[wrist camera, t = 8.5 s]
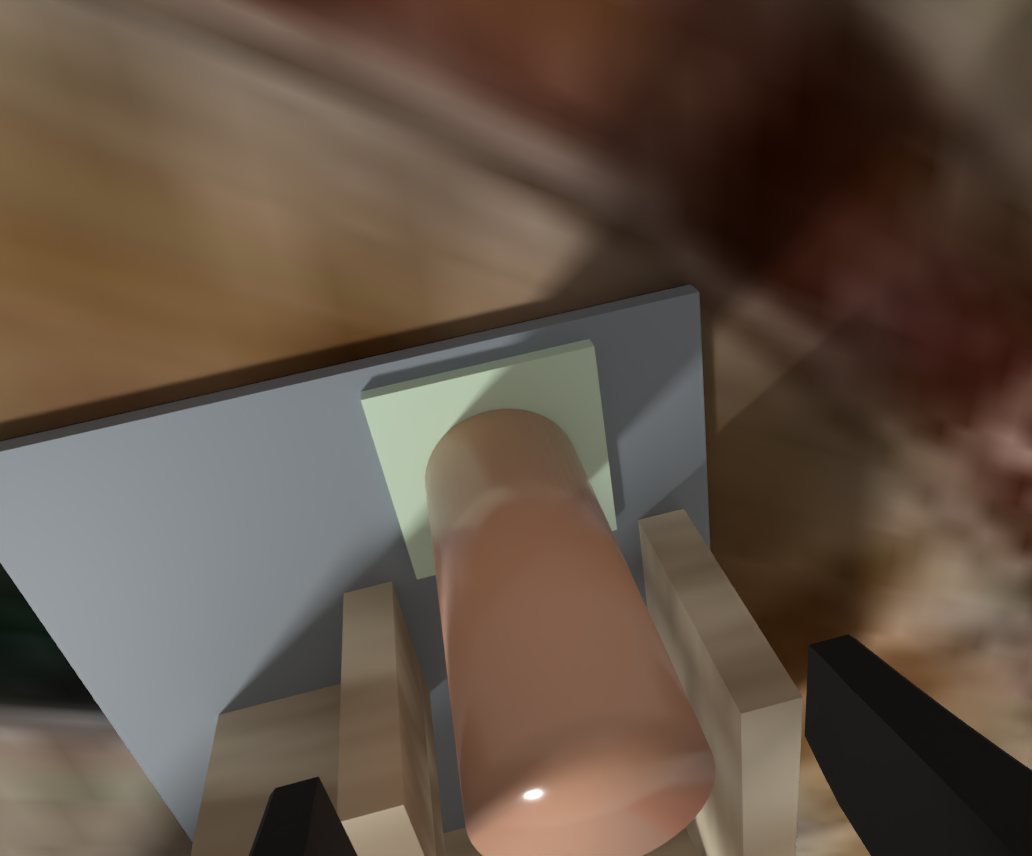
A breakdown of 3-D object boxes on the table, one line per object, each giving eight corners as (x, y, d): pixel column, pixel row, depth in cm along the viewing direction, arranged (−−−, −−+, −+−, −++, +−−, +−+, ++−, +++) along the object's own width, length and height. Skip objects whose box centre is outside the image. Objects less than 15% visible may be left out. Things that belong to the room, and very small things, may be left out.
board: (714, 779, 26) (720, 792, 25) (249, 907, 25) (247, 922, 24) (690, 284, 17) (699, 291, 16) (-54, 453, 16) (-66, 467, 15)
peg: (585, 518, 18) (717, 839, 11) (442, 552, 18) (490, 900, 11) (567, 392, 16) (712, 684, 9) (408, 428, 16) (439, 753, 9)
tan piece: (701, 785, 25) (789, 988, 20) (318, 890, 24) (306, 1132, 19) (684, 508, 19) (802, 696, 14) (173, 635, 18) (99, 886, 13)
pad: (612, 520, 19) (616, 529, 18) (415, 569, 18) (416, 579, 18) (589, 338, 16) (594, 345, 16) (360, 391, 16) (360, 400, 16)
